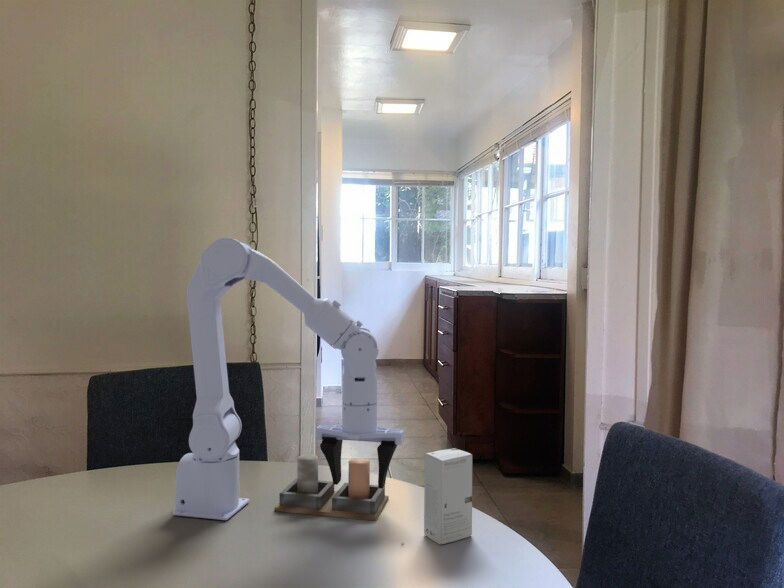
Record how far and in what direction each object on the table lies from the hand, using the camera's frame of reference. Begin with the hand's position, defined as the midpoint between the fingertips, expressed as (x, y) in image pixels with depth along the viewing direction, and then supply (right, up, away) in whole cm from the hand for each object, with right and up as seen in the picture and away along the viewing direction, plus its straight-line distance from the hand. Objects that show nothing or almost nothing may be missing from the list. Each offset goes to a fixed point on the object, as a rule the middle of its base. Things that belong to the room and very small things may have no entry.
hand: (359, 484), depth 92 cm
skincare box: (+14, -4, -10) cm, 17 cm away
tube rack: (-4, -4, +1) cm, 6 cm away
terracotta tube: (0, -3, 0) cm, 3 cm away
